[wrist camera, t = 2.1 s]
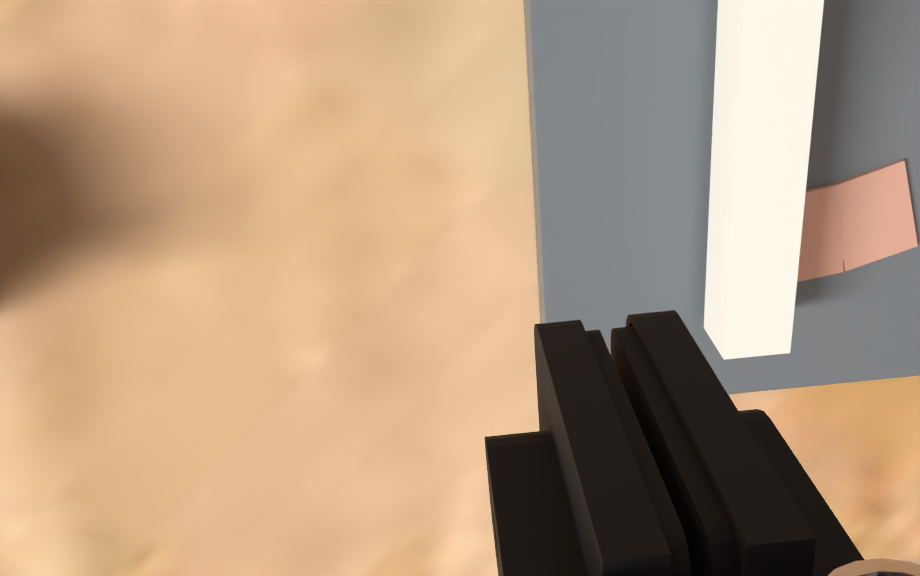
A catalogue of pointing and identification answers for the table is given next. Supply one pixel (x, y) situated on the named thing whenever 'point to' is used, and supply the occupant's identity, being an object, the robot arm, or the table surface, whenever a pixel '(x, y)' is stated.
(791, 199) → the pointer
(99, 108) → the table surface
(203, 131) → the table surface
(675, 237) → the dial board
